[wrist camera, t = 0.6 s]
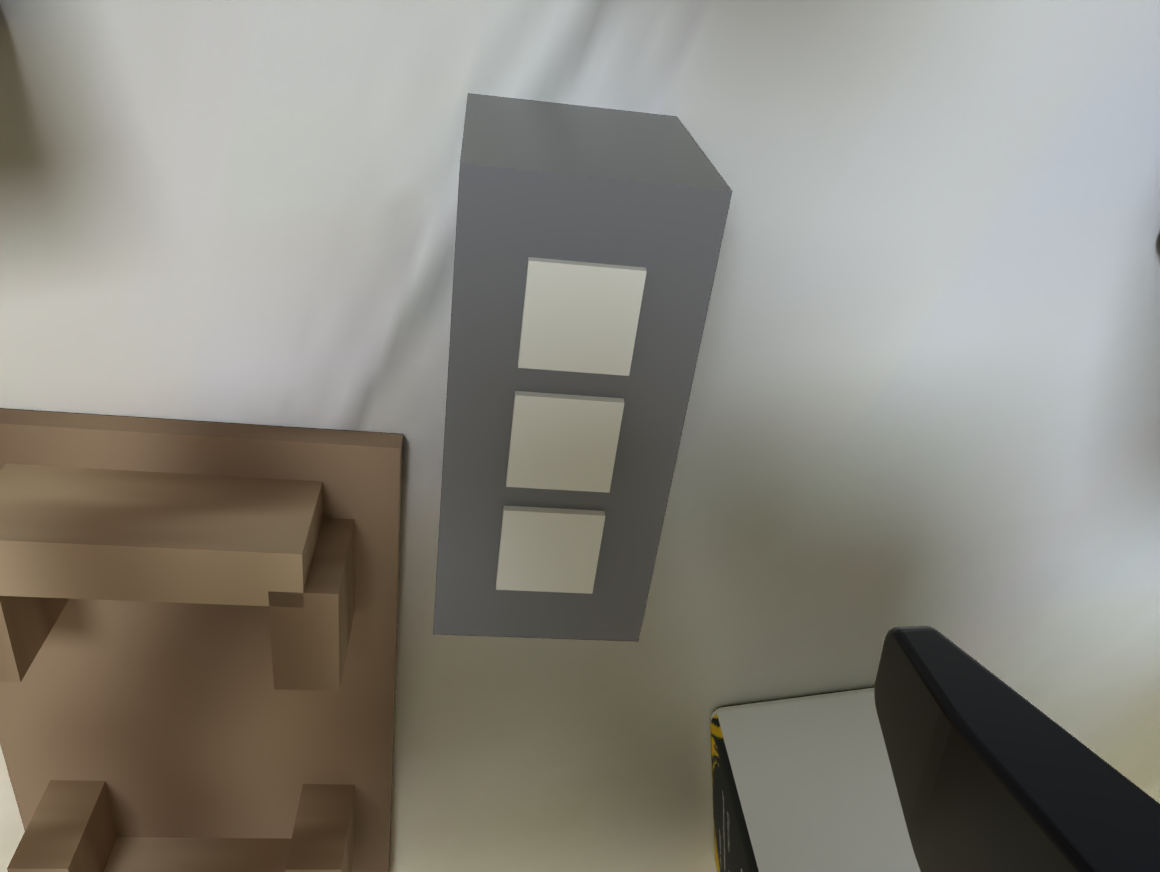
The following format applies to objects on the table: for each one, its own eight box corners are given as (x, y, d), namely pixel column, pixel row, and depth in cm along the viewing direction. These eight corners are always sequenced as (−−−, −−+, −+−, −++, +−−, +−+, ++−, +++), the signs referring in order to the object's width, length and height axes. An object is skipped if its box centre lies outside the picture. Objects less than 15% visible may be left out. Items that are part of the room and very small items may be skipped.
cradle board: (402, 434, 21) (389, 517, 18) (389, 870, 29) (378, 974, 26) (-77, 403, 20) (-169, 489, 17) (49, 870, 28) (1, 978, 25)
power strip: (676, 115, 18) (734, 194, 14) (610, 495, 23) (639, 647, 18) (467, 91, 17) (459, 166, 13) (445, 486, 22) (432, 639, 18)
